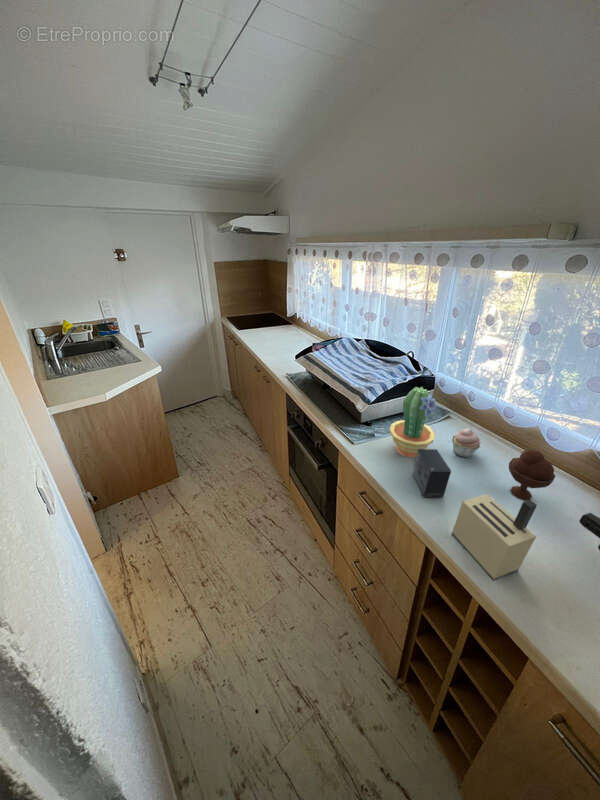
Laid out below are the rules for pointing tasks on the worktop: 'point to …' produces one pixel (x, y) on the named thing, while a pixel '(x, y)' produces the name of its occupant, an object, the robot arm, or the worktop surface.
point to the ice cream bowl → (530, 473)
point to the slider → (524, 514)
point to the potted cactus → (414, 423)
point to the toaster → (491, 536)
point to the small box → (431, 473)
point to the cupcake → (465, 443)
